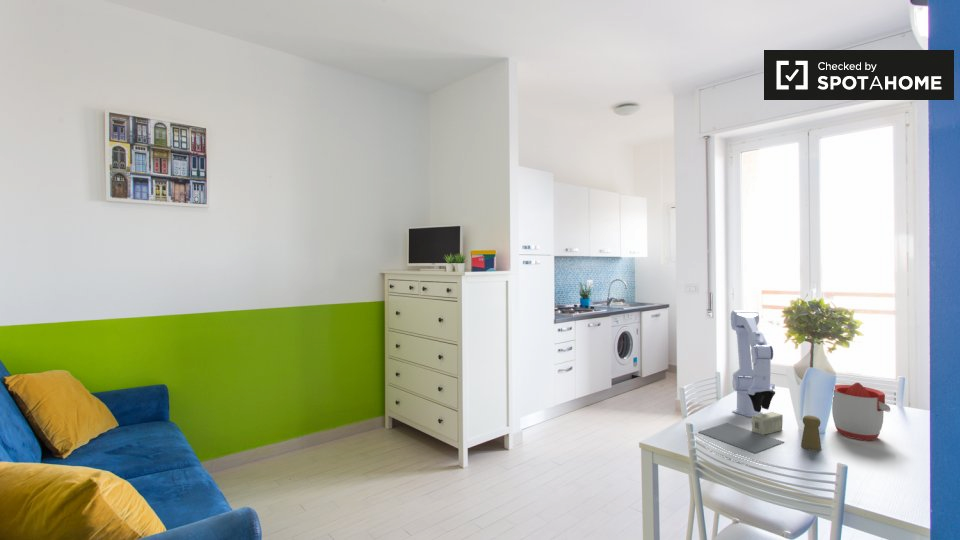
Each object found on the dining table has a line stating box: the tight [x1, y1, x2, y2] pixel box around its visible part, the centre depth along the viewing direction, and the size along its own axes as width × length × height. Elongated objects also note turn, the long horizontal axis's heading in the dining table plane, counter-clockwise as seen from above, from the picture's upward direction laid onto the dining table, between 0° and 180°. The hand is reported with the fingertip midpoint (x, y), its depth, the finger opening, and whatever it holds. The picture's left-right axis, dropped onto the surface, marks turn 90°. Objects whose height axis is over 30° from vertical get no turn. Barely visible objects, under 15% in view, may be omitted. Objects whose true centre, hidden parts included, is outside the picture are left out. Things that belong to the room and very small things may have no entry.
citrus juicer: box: [831, 382, 891, 441], centre depth 176 cm, size 16×17×20 cm
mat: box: [698, 422, 785, 455], centre depth 177 cm, size 18×22×1 cm
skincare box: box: [751, 411, 784, 435], centre depth 182 cm, size 6×4×12 cm
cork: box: [800, 415, 822, 451], centre depth 167 cm, size 6×6×11 cm
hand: (761, 410), depth 183 cm, fingers open, 5 cm apart
